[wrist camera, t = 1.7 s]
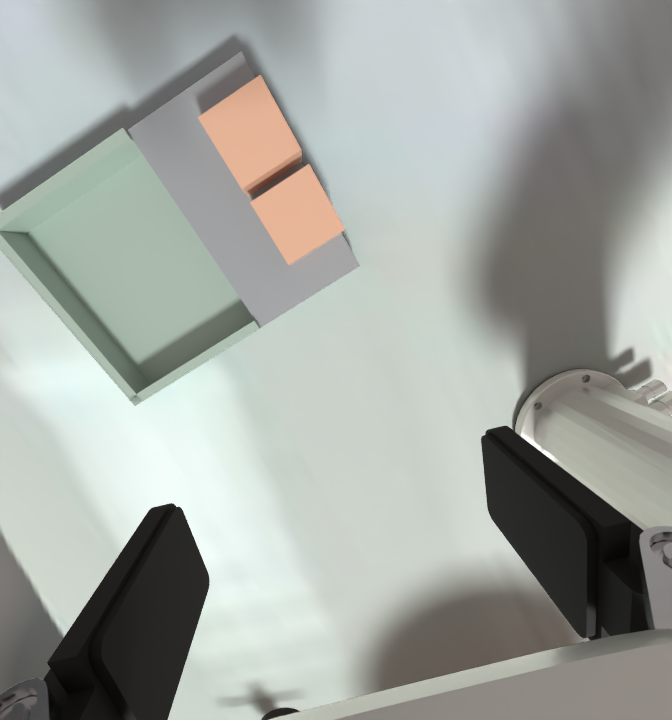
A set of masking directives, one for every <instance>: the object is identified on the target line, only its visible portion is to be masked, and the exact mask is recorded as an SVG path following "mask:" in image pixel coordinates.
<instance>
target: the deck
mask: <svg viewBox="0 0 672 720" xmlns="http://www.w3.org/2000/svg"><path fill="white" fill-rule="evenodd" d="M255 78H256V77H255V75H254V73H253V71H252V70H251V68H250V66H249V64H248V62H247V60H246V59H245V57H244V55H243V53H242V51H241V52H239V53H238V54H236V55H235V56H233V57H232V58H230V59H229V60H228V61H226V62H225V63H223V64H222V65H220V66H219V67H217V68H216V69H215V70H213V71H212V72H210V73H209V74H207V75H206V76H204V77H203V78H202V79H200V80H199V81H197V82H196V83H194V84H193V85H191V86H190V87H189V88H187V89H186V90H184V91H183V92H181V93H180V94H178V95H177V96H176V97H174V98H173V99H171V100H170V101H168V102H167V103H165V104H164V105H163V106H161V107H160V108H158V109H157V110H155V111H154V112H152V113H151V114H150V115H148V116H147V117H145V118H144V119H142V120H141V121H139V122H138V123H137V124H135V125H134V126H132V127H131V128H129V129H128V130H126V131H127V132H128V133H129V135H130V136H131V138H132V139H133V141H134V142H135V144H136V145H137V147H138V148H139V150H140V151H141V153H142V154H143V156H144V157H145V159H146V160H147V161H148V163H149V164H150V166H151V167H152V169H153V170H154V172H155V173H156V175H157V176H158V178H159V179H160V181H161V182H162V184H163V185H164V186H165V188H166V189H167V191H168V192H169V194H170V195H171V197H172V198H173V200H174V201H175V203H176V204H177V206H178V207H179V209H180V210H181V212H182V213H183V214H184V216H185V217H186V219H187V220H188V222H189V223H190V225H191V226H192V228H193V229H194V231H195V232H196V234H197V235H198V237H199V238H200V240H201V241H202V242H203V244H204V245H205V247H206V248H207V250H208V251H209V253H210V254H211V256H212V257H213V259H214V260H215V262H216V263H217V265H218V266H219V267H220V269H221V270H222V272H223V273H224V275H225V276H226V278H227V279H228V281H229V282H230V284H231V285H232V287H233V288H234V290H235V291H236V293H237V294H238V295H239V297H240V298H241V300H242V301H243V303H244V304H245V306H246V307H247V309H248V310H249V312H250V313H251V315H252V316H253V318H254V319H255V321H256V322H257V323H258V325H259V326H260V328H261V327H262V326H264V325H266V324H267V323H269V322H270V321H272V320H274V319H275V318H277V317H278V316H280V315H282V314H283V313H285V312H286V311H288V310H290V309H291V308H293V307H295V306H296V305H298V304H299V303H301V302H303V301H304V300H306V299H307V298H309V297H311V296H312V295H314V294H315V293H317V292H319V291H320V290H322V289H324V288H325V287H327V286H328V285H330V284H332V283H333V282H335V281H336V280H338V279H340V278H341V277H343V276H344V275H346V274H348V273H349V272H351V271H353V270H354V269H356V268H357V267H359V266H360V265H359V263H358V262H357V260H356V258H355V256H354V254H353V253H352V251H351V249H350V247H349V245H348V243H347V242H346V240H345V238H344V236H343V234H342V233H341V234H340V235H338V236H337V237H335V238H333V239H332V240H330V241H329V242H327V243H326V244H324V245H322V246H321V247H319V248H318V249H316V250H314V251H313V252H311V253H310V254H308V255H307V256H305V257H303V258H302V259H300V260H299V261H297V262H295V263H294V264H292V265H291V266H290V265H288V264H287V262H286V260H285V259H284V257H283V256H282V254H281V252H280V251H279V249H278V247H277V246H276V244H275V243H274V241H273V239H272V238H271V236H270V234H269V233H268V231H267V230H266V228H265V226H264V225H263V223H262V221H261V220H260V218H259V217H258V215H257V213H256V212H255V210H254V208H253V207H252V205H251V204H250V202H251V201H253V200H254V199H256V198H257V197H259V196H260V195H262V194H264V193H265V192H267V191H268V190H270V189H271V188H273V187H274V186H276V185H277V184H279V183H280V182H282V181H283V180H285V179H286V178H288V177H290V176H291V175H293V174H294V173H296V172H297V171H299V170H300V169H302V168H303V167H305V166H304V164H303V162H301V163H299V164H298V165H296V166H295V167H293V168H292V169H290V170H289V171H287V172H286V173H284V174H283V175H281V176H280V177H278V178H277V179H275V180H273V181H272V182H270V183H269V184H267V185H266V186H264V187H263V188H261V189H260V190H258V191H257V192H255V193H254V194H252V195H251V196H249V197H248V196H247V195H246V194H245V193H244V191H243V190H242V189H241V187H240V186H239V184H238V182H237V181H236V179H235V178H234V176H233V174H232V173H231V171H230V169H229V168H228V166H227V165H226V163H225V161H224V160H223V158H222V156H221V155H220V153H219V152H218V150H217V148H216V147H215V145H214V143H213V142H212V140H211V139H210V137H209V135H208V134H207V132H206V130H205V129H204V127H203V126H202V124H201V122H200V121H199V119H198V117H199V116H200V115H202V114H203V113H205V112H206V111H208V110H209V109H211V108H212V107H214V106H215V105H217V104H218V103H219V102H221V101H222V100H224V99H225V98H227V97H228V96H230V95H231V94H233V93H234V92H236V91H237V90H238V89H240V88H241V87H243V86H244V85H246V84H247V83H249V82H250V81H252V80H253V79H255Z"/></svg>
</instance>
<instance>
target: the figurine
mask: <svg viewBox="0 0 672 720" xmlns="http://www.w3.org/2000/svg"><path fill="white" fill-rule="evenodd" d="M296 712H300V711H298V710H296V709H290V708H284V709H278V710H274V711H272V712H270V713H268V714H267V715H265V717H264V718H263V719H262V720H269V719H273V718H277V717H280V716H284V715H288V714H292V713H296Z"/></svg>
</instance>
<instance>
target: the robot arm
mask: <svg viewBox="0 0 672 720" xmlns="http://www.w3.org/2000/svg"><path fill="white" fill-rule="evenodd" d="M665 391H667V387H666V385H665V384H664V383H663V382H661V381H659V380H653V381H651V382H649V383H648V384H646V385H644V386H642V388H640V389H638V390H628V389H625V388H624V386H623V385H622V384H621V383H620V382H619V381H618V380H616V379H615V378H613V377H611V376H610V375H607V374H604V373H602V372H599V371H595V370H590V369H576V370H570V371H566V372H563V373H560V374H558V375H555V376H554V377H552V378H550V379H548V380H546V381H545V382H544V383H542V384H541V385H540V386H539V387H537V388H536V389H535V390H534V392H533V393H532V394H531V395H530V396H529V397H528V398H527V400H526V402H525V403H524V405H523V406H522V408H521V410H520V413H519V415H518V418H517V422H516V426H515V431H513V430H512V429H511V428H509V427H508V426H502V427H497V428H493V429H489V430H487V431H486V435H484V436H482V438H481V443H482V453H483V464H484V474H485V485H486V496H487V506H488V511H489V514H490V516H491V518H492V520H493V521H494V523H495V524H496V525H497V527H498V528H499V529H500V531H501V532H502V533H503V535H504V536H505V537H506V539H507V540H508V541H509V543H510V544H511V545H512V547H513V548H514V549H515V551H516V552H517V553H518V555H519V556H520V557H521V559H522V560H523V561H524V563H525V564H526V565H527V567H528V568H529V569H530V571H531V572H532V573H533V575H534V576H535V577H536V579H537V580H538V581H539V583H540V584H541V585H542V587H543V588H544V589H545V591H546V592H547V593H548V595H549V596H550V598H551V599H552V600H553V602H554V603H555V604H556V606H557V607H558V608H559V610H560V611H561V612H562V614H563V615H564V616H565V618H566V619H567V620H568V622H569V623H570V624H571V626H572V627H573V628H574V630H575V631H576V632H577V633H578V634H579V635H580V636H581V637H583V638H587V637H588V638H589V639H590V641H587V642H583V643H578V644H574V645H569V646H565V647H560V648H556V649H551V650H547V651H542V652H538V653H533V654H529V655H525V656H521V657H517V658H513V659H509V660H505V661H501V662H497V663H493V664H489V665H484V666H480V667H476V668H472V669H468V670H464V671H460V672H456V673H452V674H448V675H444V676H440V677H435V678H431V679H427V680H423V681H419V682H415V683H411V684H407V685H403V686H399V687H395V688H391V689H387V690H383V691H379V692H375V693H371V694H367V695H363V696H359V697H355V698H352V699H348V700H344V701H340V702H336V703H332V704H328V705H324V706H320V707H316V708H312V709H308V710H304V711H300V712H296V713H292V714H288V715H284V716H280V717H277V718H273V719H269V720H672V416H671V415H672V391H669V392H667V393H665V394H663V395H661V396H660V397H658V398H656V399H654V400H652V402H651V403H649V404H648V401H647V400H649V399H650V398H654V397H656V396H657V395H659V394H661V393H663V392H665ZM208 589H209V575H208V572H207V569H206V567H205V564H204V562H203V560H202V557H201V555H200V552H199V550H198V547H197V545H196V542H195V540H194V537H193V535H192V532H191V530H190V528H189V525H188V523H187V520H186V518H185V515H184V513H183V510H182V509H181V508H180V507H176V506H175V505H174V504H172V503H171V504H166V505H162V506H158V507H153V508H151V509H150V510H149V511H148V513H147V514H146V516H145V517H144V519H143V520H142V522H141V523H140V525H139V526H138V528H137V529H136V531H135V532H134V534H133V535H132V537H131V538H130V540H129V541H128V543H127V544H126V546H125V547H124V549H123V550H122V552H121V553H120V555H119V556H118V558H117V559H116V561H115V562H114V564H113V565H112V567H111V568H110V570H109V571H108V573H107V574H106V576H105V577H104V579H103V580H102V582H101V583H100V585H99V586H98V588H97V589H96V591H95V592H94V594H93V595H92V597H91V598H90V600H89V601H88V603H87V604H86V606H85V607H84V609H83V610H82V611H81V613H80V614H79V616H78V617H77V619H76V620H75V622H74V623H73V625H72V626H71V628H70V629H69V631H68V632H67V634H66V635H65V637H64V638H63V640H62V642H61V643H60V644H59V646H58V648H57V649H56V650H55V652H54V653H53V655H52V657H51V658H50V659H49V661H48V662H47V663H48V665H49V666H50V668H51V669H50V670H49V672H48V673H47V675H46V676H45V678H44V680H42V679H39V678H35V679H28V680H25V681H23V682H21V683H18V684H16V685H14V686H12V687H11V688H9V689H8V690H6V691H5V692H3V693H2V694H0V720H167V719H168V716H169V713H170V710H171V707H172V703H173V700H174V697H175V694H176V691H177V687H178V684H179V681H180V678H181V675H182V672H183V668H184V665H185V662H186V659H187V656H188V653H189V649H190V646H191V643H192V640H193V637H194V633H195V630H196V627H197V624H198V621H199V618H200V614H201V611H202V608H203V605H204V602H205V599H206V595H207V592H208Z"/></svg>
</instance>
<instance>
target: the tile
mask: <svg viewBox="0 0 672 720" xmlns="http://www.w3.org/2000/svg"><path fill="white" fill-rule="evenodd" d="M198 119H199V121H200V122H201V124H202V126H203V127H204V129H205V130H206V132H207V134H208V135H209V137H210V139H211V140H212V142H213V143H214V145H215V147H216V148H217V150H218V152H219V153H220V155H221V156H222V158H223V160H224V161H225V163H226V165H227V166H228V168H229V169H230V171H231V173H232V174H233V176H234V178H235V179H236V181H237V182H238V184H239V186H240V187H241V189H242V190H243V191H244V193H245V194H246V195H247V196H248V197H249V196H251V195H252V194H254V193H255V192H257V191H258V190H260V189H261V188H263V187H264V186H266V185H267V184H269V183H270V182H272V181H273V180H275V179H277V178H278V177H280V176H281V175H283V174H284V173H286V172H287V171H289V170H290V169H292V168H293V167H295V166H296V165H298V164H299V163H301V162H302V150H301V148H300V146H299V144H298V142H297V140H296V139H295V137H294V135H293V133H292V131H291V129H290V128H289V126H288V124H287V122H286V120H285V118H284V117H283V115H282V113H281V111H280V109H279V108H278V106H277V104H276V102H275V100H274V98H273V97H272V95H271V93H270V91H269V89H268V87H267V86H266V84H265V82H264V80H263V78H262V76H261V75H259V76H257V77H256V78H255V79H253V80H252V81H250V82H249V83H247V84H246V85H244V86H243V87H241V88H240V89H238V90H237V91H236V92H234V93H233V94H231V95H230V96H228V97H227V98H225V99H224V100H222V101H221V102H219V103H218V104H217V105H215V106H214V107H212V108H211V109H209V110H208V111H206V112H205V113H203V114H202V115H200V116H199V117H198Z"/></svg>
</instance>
